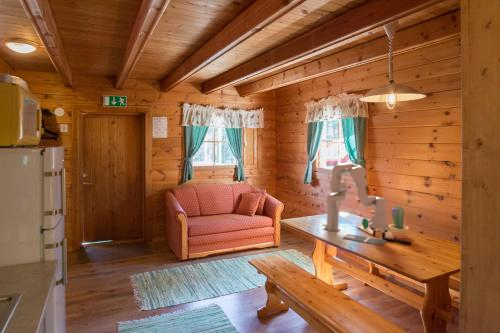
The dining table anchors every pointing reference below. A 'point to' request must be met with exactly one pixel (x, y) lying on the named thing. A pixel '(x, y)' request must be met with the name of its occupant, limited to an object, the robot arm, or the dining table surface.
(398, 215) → the potted cactus
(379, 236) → the ball
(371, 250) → the dining table surface
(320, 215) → the dining table surface
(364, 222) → the crank mechanism
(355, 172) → the robot arm
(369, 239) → the mat
